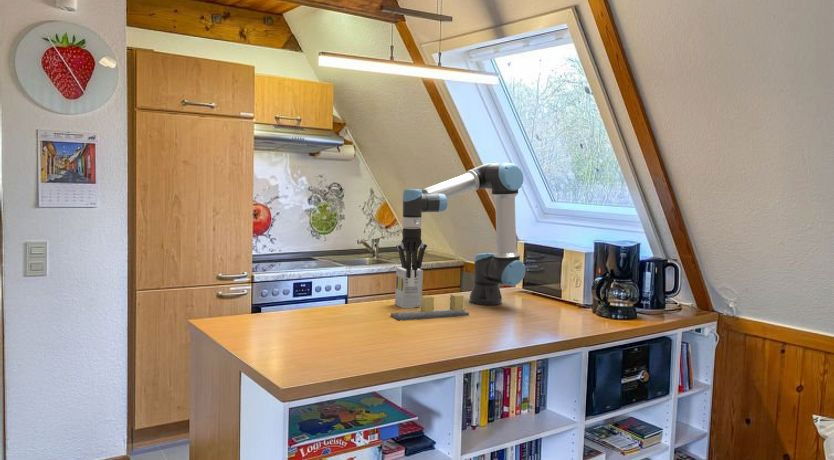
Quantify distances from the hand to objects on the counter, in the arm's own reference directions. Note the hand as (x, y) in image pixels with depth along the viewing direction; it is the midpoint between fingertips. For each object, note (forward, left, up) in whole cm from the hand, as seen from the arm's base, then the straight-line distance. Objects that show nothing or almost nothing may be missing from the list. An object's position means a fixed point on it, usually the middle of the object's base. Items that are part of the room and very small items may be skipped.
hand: (411, 285), depth 255 cm
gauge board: (-1, +10, -13) cm, 17 cm away
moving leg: (-1, +8, -12) cm, 14 cm away
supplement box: (-22, +9, -14) cm, 27 cm away
